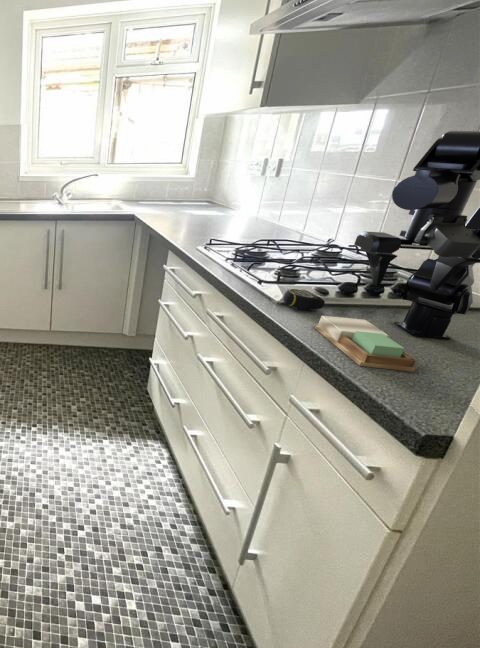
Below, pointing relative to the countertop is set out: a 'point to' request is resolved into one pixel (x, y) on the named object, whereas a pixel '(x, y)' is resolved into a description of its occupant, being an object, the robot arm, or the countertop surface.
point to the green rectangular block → (377, 344)
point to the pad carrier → (342, 335)
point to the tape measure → (303, 299)
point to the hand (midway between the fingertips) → (403, 287)
